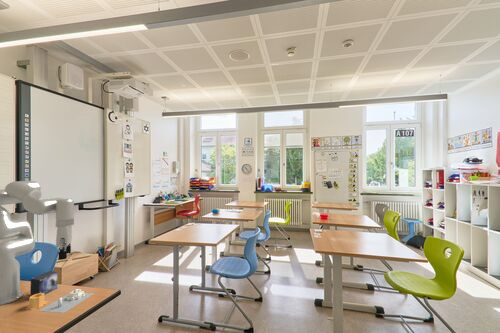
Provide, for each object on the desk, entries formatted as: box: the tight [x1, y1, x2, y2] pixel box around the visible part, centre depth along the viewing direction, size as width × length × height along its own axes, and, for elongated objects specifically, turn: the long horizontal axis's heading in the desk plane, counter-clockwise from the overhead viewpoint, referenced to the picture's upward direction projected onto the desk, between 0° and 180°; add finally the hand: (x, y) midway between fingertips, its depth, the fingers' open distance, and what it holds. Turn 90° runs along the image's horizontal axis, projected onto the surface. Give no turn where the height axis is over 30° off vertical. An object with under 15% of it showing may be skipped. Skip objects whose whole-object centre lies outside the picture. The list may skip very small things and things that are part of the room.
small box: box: [29, 270, 59, 296], centre depth 134 cm, size 11×6×10 cm, turn 168°
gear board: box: [39, 288, 95, 314], centre depth 122 cm, size 14×18×5 cm
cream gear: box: [66, 288, 85, 301], centre depth 127 cm, size 8×8×3 cm
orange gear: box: [25, 293, 48, 311], centre depth 120 cm, size 8×8×6 cm
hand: (64, 256), depth 121 cm, fingers open, 9 cm apart
